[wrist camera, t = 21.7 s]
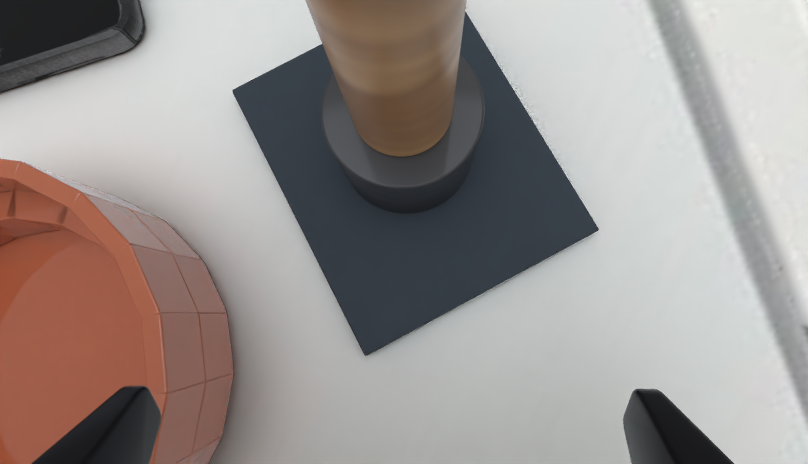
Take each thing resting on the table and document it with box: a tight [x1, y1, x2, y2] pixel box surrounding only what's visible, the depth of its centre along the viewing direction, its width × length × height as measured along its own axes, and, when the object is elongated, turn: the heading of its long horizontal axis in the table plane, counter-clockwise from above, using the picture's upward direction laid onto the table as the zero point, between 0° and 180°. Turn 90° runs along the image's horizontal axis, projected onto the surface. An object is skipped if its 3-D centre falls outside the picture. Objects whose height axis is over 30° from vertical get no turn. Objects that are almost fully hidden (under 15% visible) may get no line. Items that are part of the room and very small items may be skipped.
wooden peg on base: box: [305, 0, 484, 213], centre depth 13 cm, size 5×5×13 cm
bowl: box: [0, 159, 234, 464], centre depth 17 cm, size 14×14×6 cm
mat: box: [233, 12, 599, 356], centre depth 20 cm, size 12×10×1 cm
